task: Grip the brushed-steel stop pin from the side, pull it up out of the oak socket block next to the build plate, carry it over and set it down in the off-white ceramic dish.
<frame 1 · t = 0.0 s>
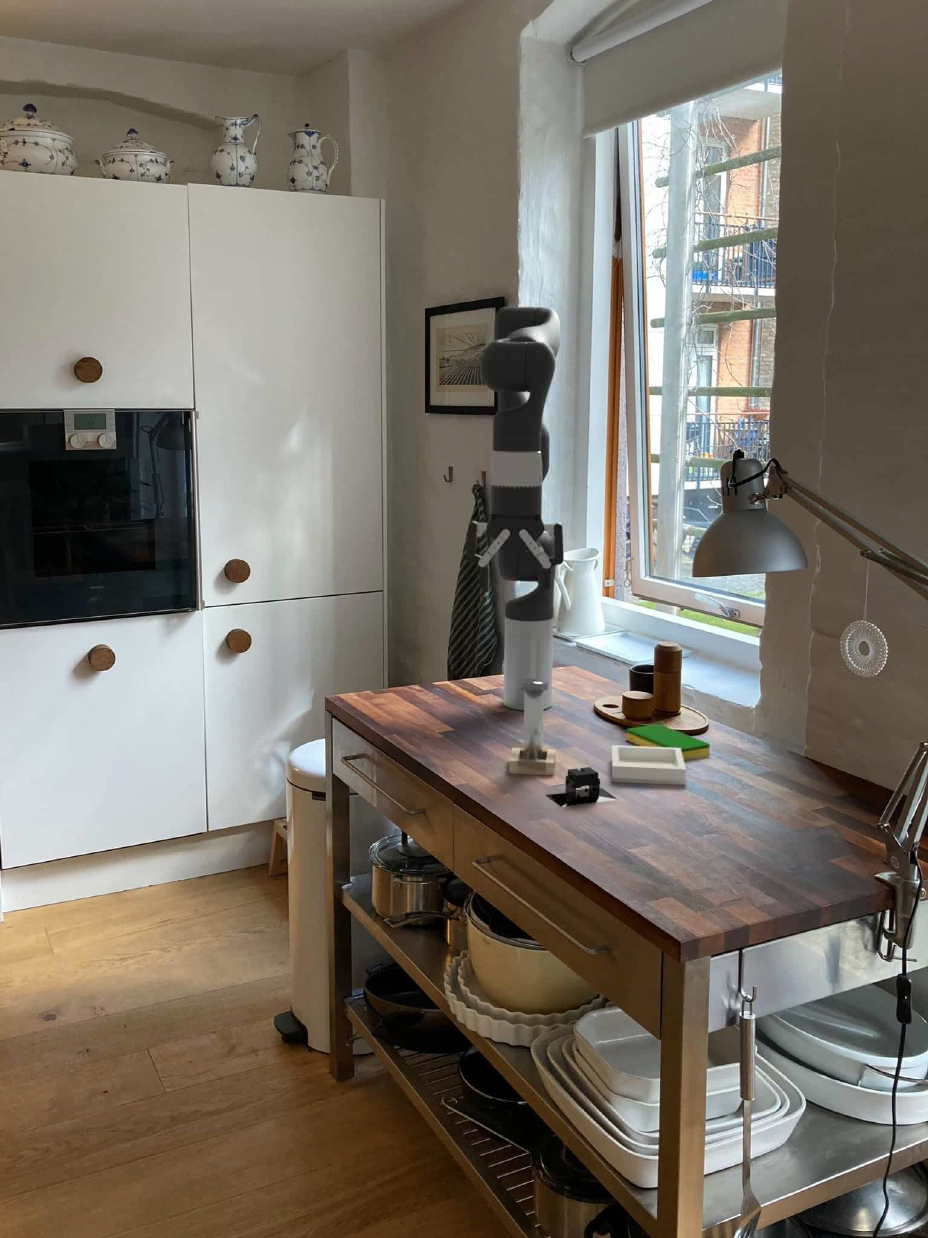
hand: (514, 592, 167), 29 cm above the worktop, tool pointing down, fingers open, 8 cm apart
dish: (647, 772, 177), on the worktop
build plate: (582, 802, 166), on the worktop
socket block: (532, 767, 179), on the worktop
stop pin: (533, 724, 178), in the socket block
dish sponge: (667, 750, 190), on the worktop
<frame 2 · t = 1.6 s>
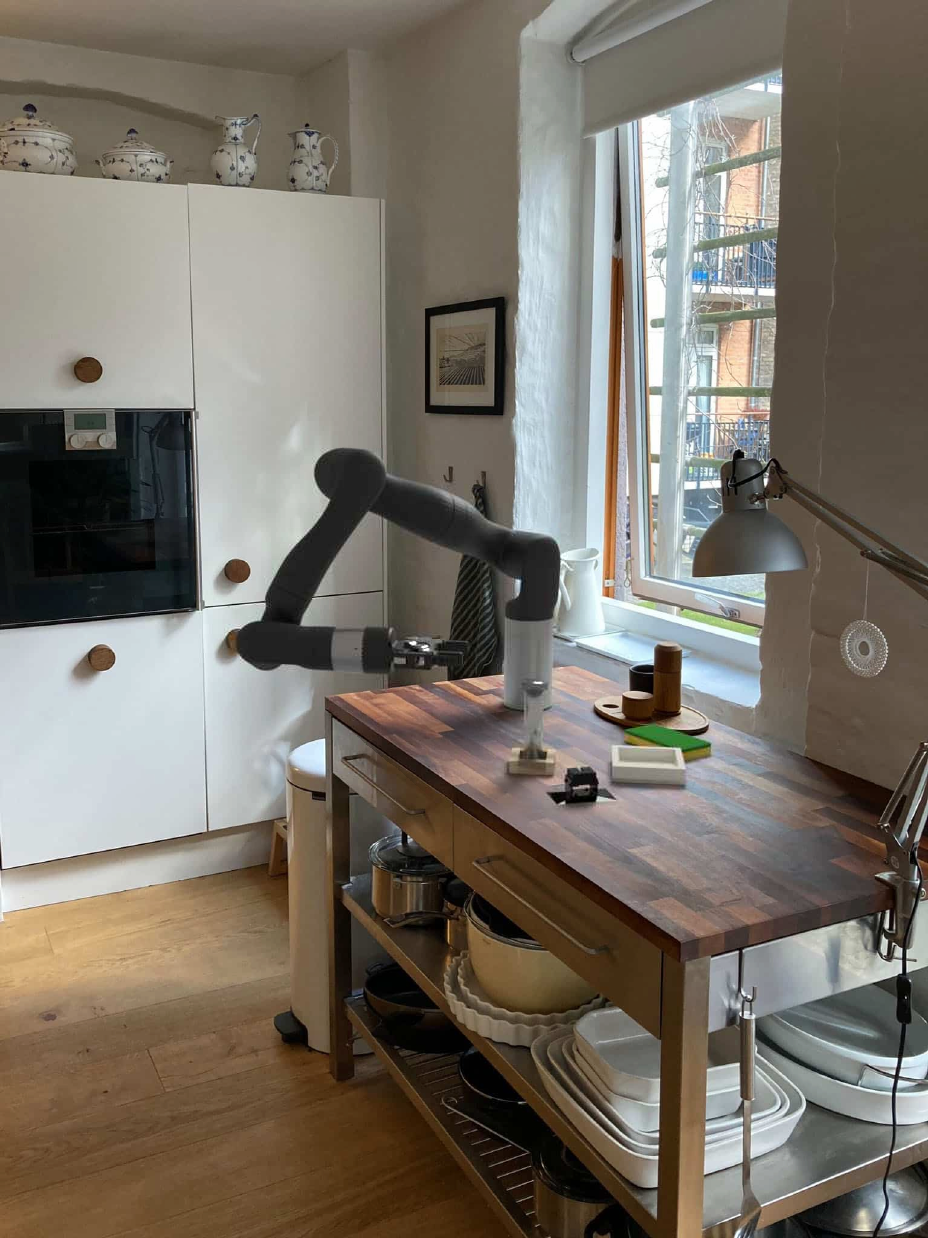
hand: (465, 653, 177), 18 cm above the worktop, tool horizontal, fingers open, 8 cm apart
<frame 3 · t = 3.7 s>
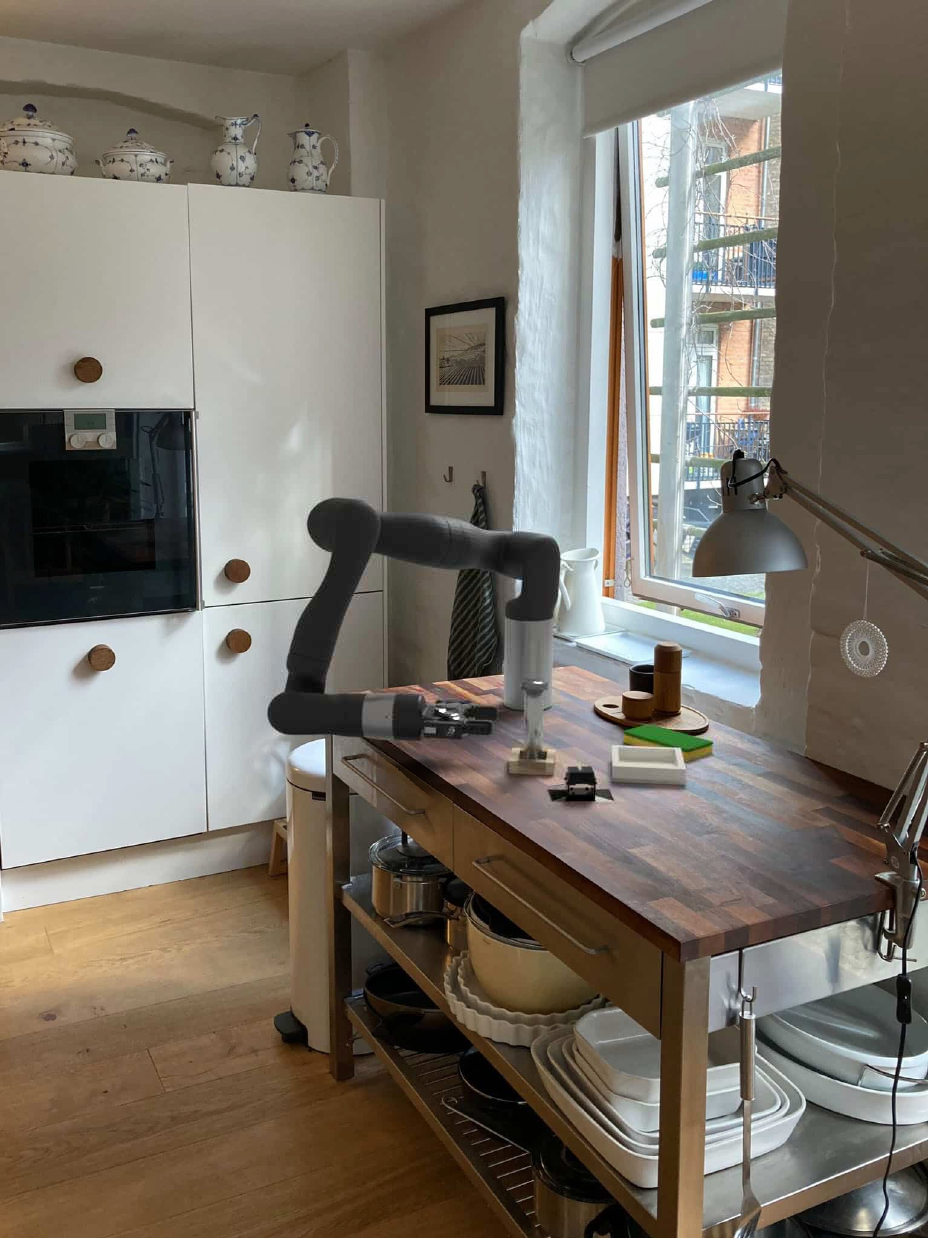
hand: (494, 720, 178), 7 cm above the worktop, tool horizontal, fingers open, 8 cm apart
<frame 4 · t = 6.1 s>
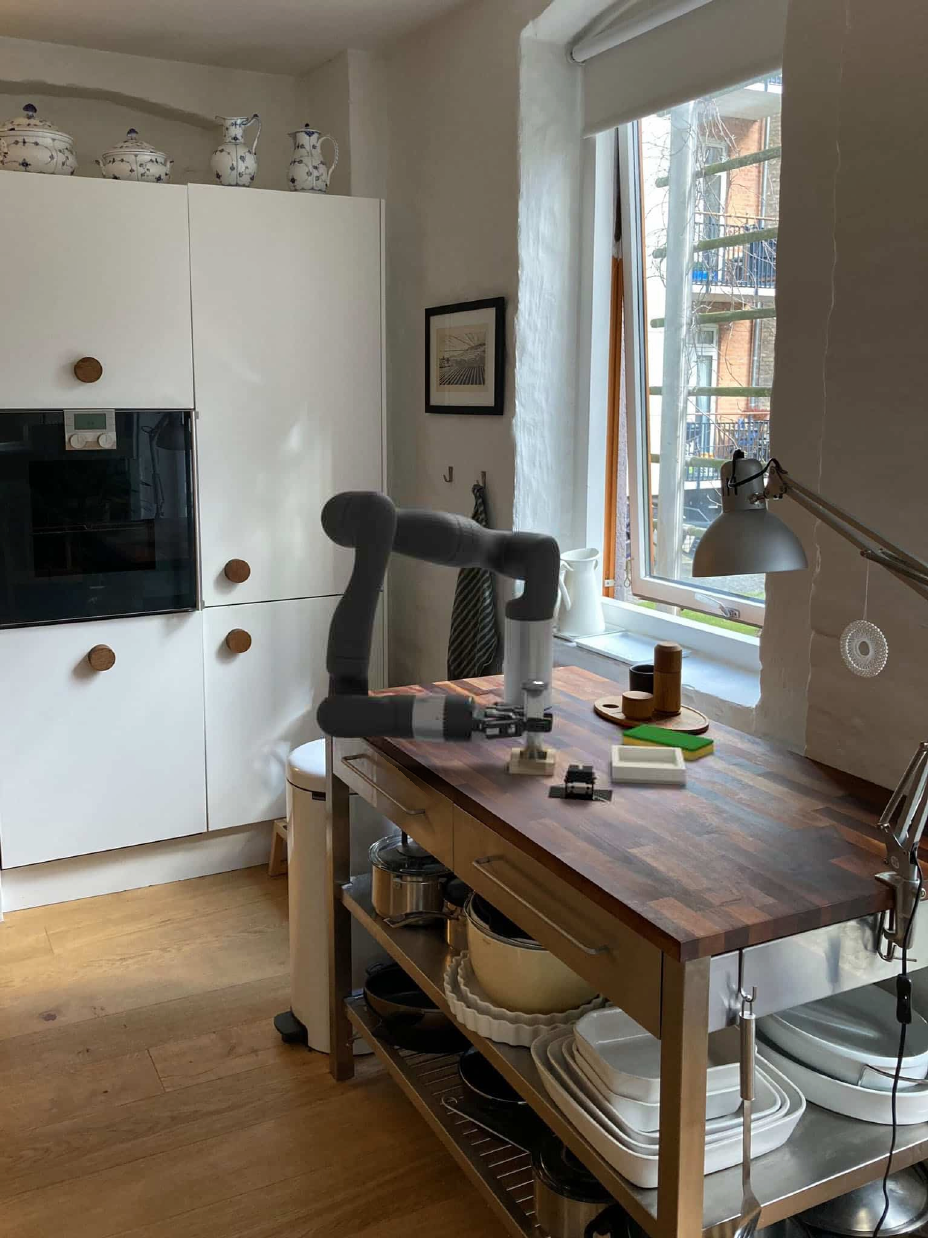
hand: (551, 722, 177), 8 cm above the worktop, tool horizontal, fingers closed on stop pin, 3 cm apart
stop pin: (533, 724, 178), in the socket block, touching gripper
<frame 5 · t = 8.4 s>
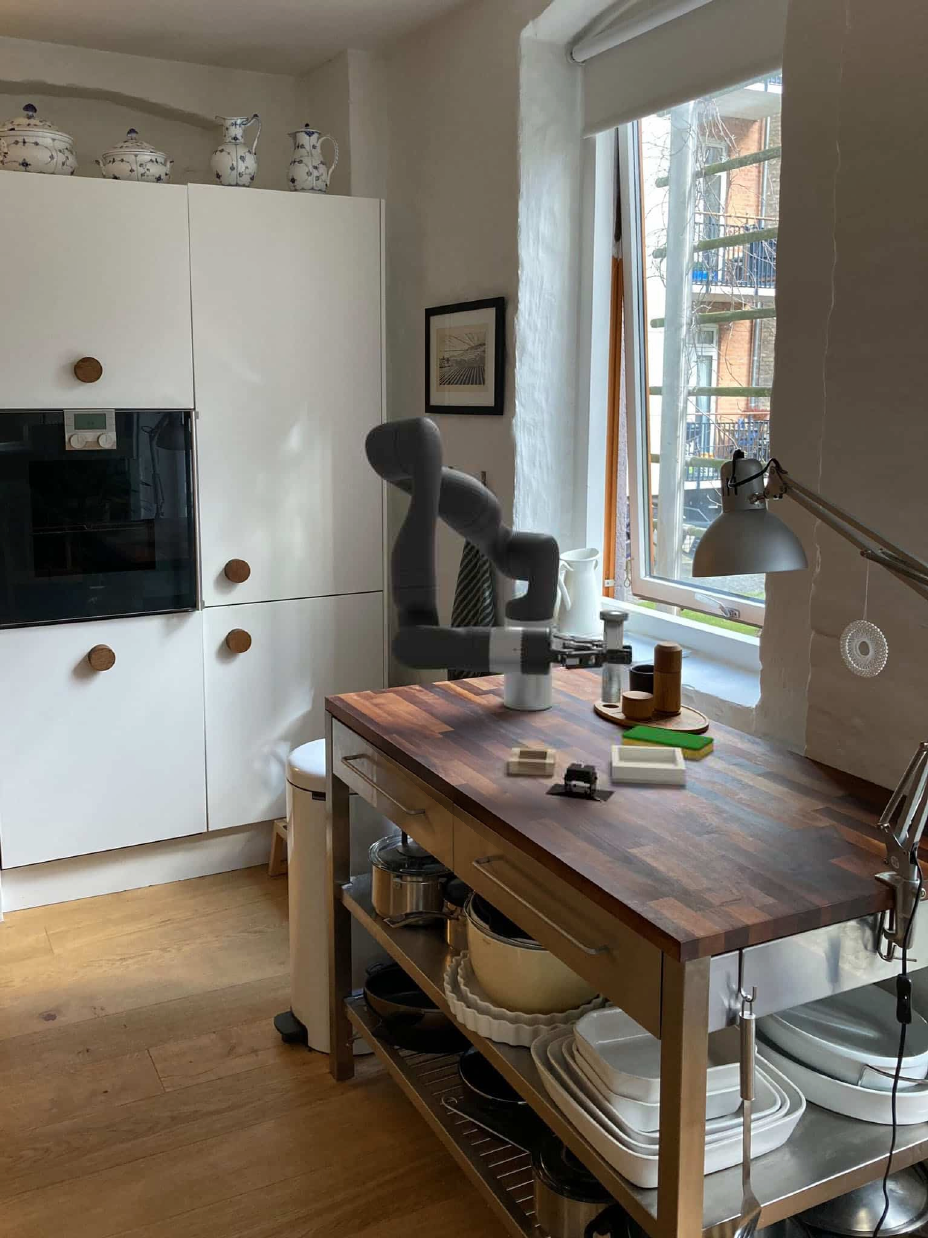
hand: (631, 654, 174), 19 cm above the worktop, tool horizontal, fingers closed on stop pin, 3 cm apart
stop pin: (612, 657, 174), point 18 cm above the worktop, touching gripper
when the fingers open (9 cm above the worktop, at t = 11.0 s): stop pin stays where it is, resting on dish.
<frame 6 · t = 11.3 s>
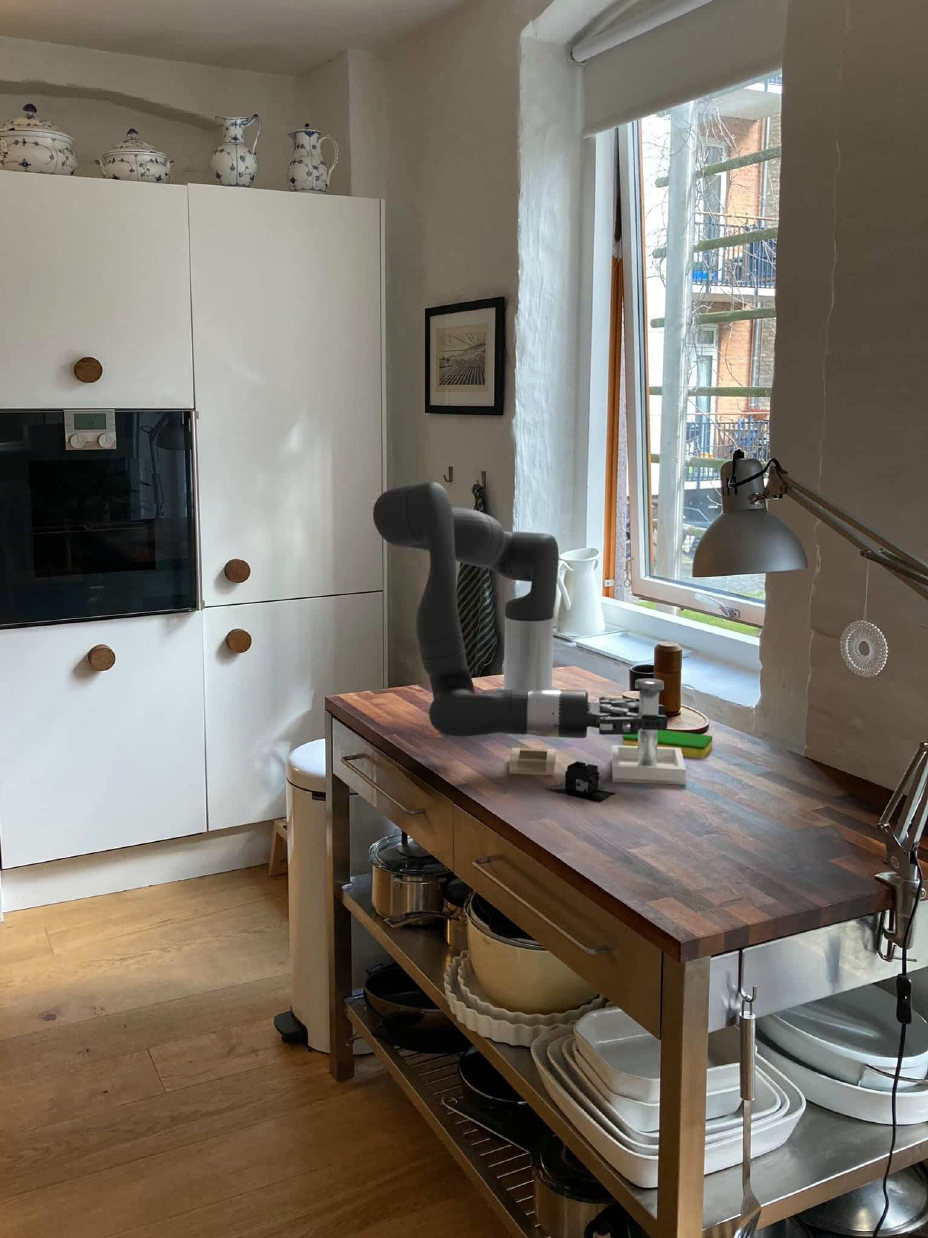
hand: (665, 717, 175), 9 cm above the worktop, tool horizontal, fingers open, 5 cm apart
stop pin: (648, 725, 176), in the dish, point 8 cm above the worktop
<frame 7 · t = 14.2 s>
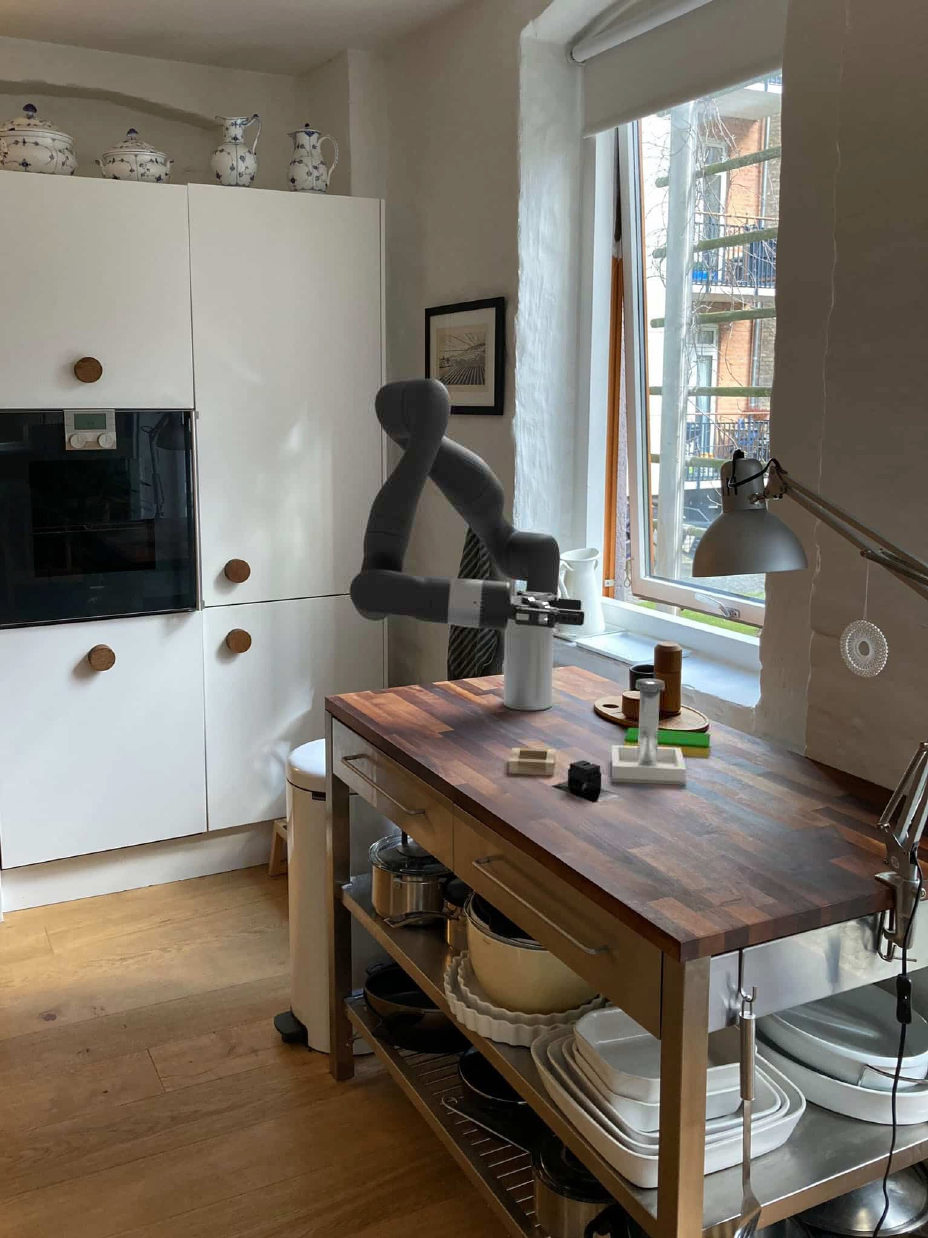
hand: (582, 612, 175), 25 cm above the worktop, tool horizontal, fingers open, 8 cm apart
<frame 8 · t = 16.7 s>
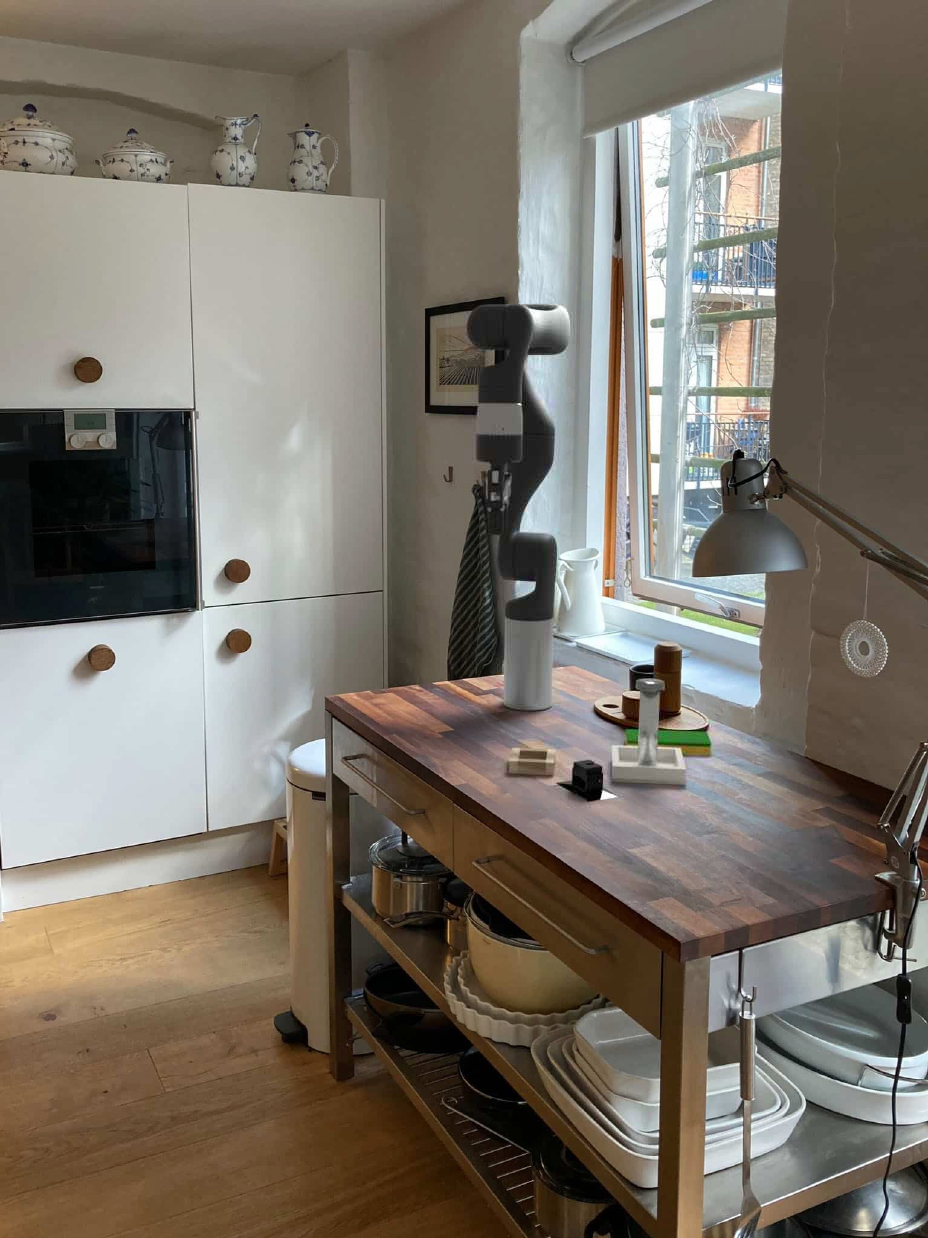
hand: (498, 532, 185), 36 cm above the worktop, tool pointing down, fingers open, 8 cm apart
at the end: stop pin inside the target area on the dish (0.1 cm from its centre), point 7.6 cm above the dish's base; the gripper is holding nothing; stop pin touching dish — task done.
